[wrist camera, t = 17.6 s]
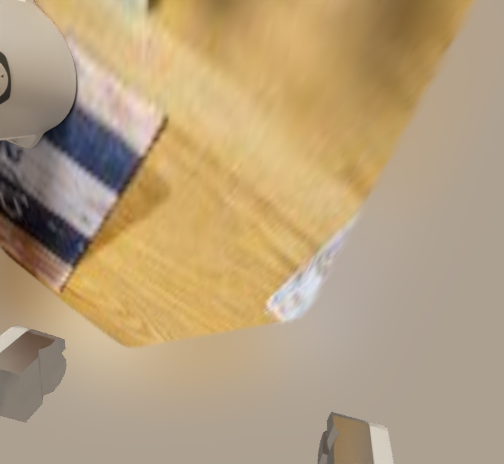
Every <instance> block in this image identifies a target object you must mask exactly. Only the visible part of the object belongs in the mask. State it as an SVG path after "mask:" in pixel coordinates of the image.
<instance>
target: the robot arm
mask: <svg viewBox="0 0 504 464" xmlns="http://www.w3.org/2000/svg"><path fill="white" fill-rule="evenodd" d="M75 94H76V71H75V65H74V61H73V58H72V55H71V52H70V49H69V47H68V45H67V43H66V41H65V39H64V37H63V36H62V34H61V33H60V31H59V30H58V28H57V27H56V26H55V25H54V23H53V22H52V21H51V20H50V19H49V18H48V17H47V16H46V15H45V14H44V13H43V12H42V11H41V10H40V9H39V8H38V7H37V6H36V5H35V3H34V1H33V0H0V140H6V141H8V142H10V143H13V144H15V145H17V146H20V147H22V148H33V147H35V146H36V145H37V143H38V142H39V141H40V139H41V137H42V135H43V134H44V133H45V132H46V131H48V130H49V129H51V128H53V127H55V126H56V125H58V124H59V123H61V122H62V121H63V120H64V118H65V117H66V116H67V115H68V113H69V111H70V109H71V107H72V105H73V102H74V99H75ZM64 349H65V341H64V339H62V338H59V337H56V336H52V335H49V334H46V333H42V332H39V331H36V330H32V329H29V328H25V327H22V326H19V325H16V326H13V327H11V328H9V329H8V330H7V331H5V332H4V333H3V334H2V335H0V416H3V417H7V418H11V419H15V420H18V421H22V422H26V421H27V420H28V419H29V418H30V417H31V416H32V415H33V414H34V412H35V411H36V410H37V409H38V408H39V407H40V406H41V404H42V400H43V396H44V395H46V394H48V393H51V392H53V391H54V390H55V388H56V387H57V386H58V385H59V384H60V382H61V380H62V378H63V376H64V374H65V370H66V359H65V358H64V356H63V355H62V352H63V350H64ZM318 464H394V461H393V456H392V450H391V445H390V439H389V434H388V430H387V428H386V426H382V425H378V424H375V423H371V422H366V421H363V420H360V419H356V418H352V417H348V416H345V415H341V414H337V413H333V412H331V414H330V415H329V418H328V420H327V431H325V432H323V435H322V438H321V441H320V446H319V451H318Z"/></svg>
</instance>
